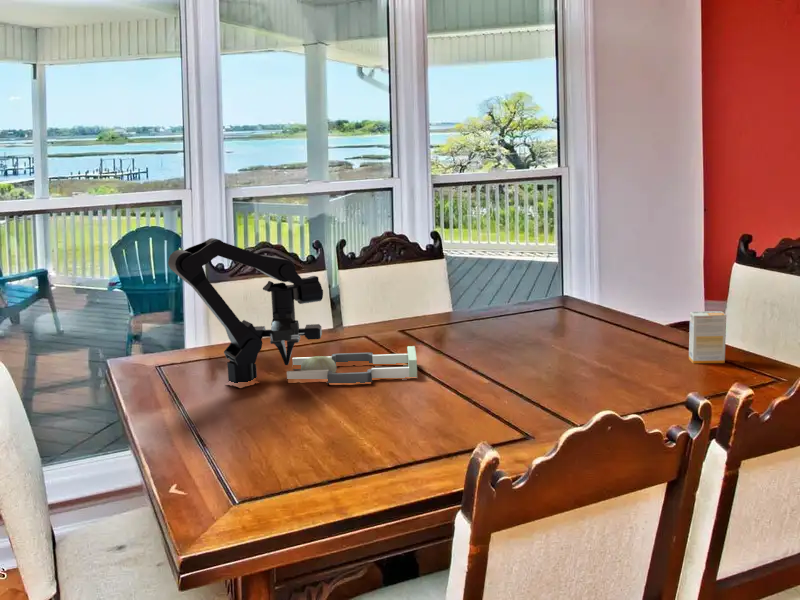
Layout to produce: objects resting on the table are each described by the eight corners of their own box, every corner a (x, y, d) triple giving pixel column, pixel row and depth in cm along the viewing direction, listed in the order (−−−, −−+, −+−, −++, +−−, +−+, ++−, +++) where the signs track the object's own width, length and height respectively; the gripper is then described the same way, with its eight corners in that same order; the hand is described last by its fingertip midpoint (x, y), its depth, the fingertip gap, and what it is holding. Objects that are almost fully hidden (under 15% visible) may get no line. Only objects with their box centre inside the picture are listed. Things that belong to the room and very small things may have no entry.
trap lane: (285, 387, 207) (285, 376, 206) (294, 365, 227) (293, 355, 226) (409, 383, 207) (409, 371, 207) (407, 361, 227) (407, 351, 226)
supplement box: (719, 358, 220) (721, 310, 217) (725, 363, 215) (727, 314, 213) (687, 359, 221) (689, 310, 218) (692, 364, 216) (694, 314, 213)
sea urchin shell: (338, 372, 212) (315, 351, 211) (317, 394, 214) (294, 373, 213) (341, 362, 221) (319, 342, 220) (321, 383, 223) (299, 363, 222)
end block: (409, 379, 211) (408, 360, 210) (407, 364, 224) (407, 346, 223) (417, 378, 211) (416, 359, 210) (415, 364, 224) (414, 346, 224)
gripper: (241, 314, 206) (246, 374, 209) (317, 311, 206) (320, 372, 209) (248, 305, 217) (253, 363, 220) (320, 302, 217) (323, 360, 220)
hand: (286, 364), depth 217 cm, fingers closed
